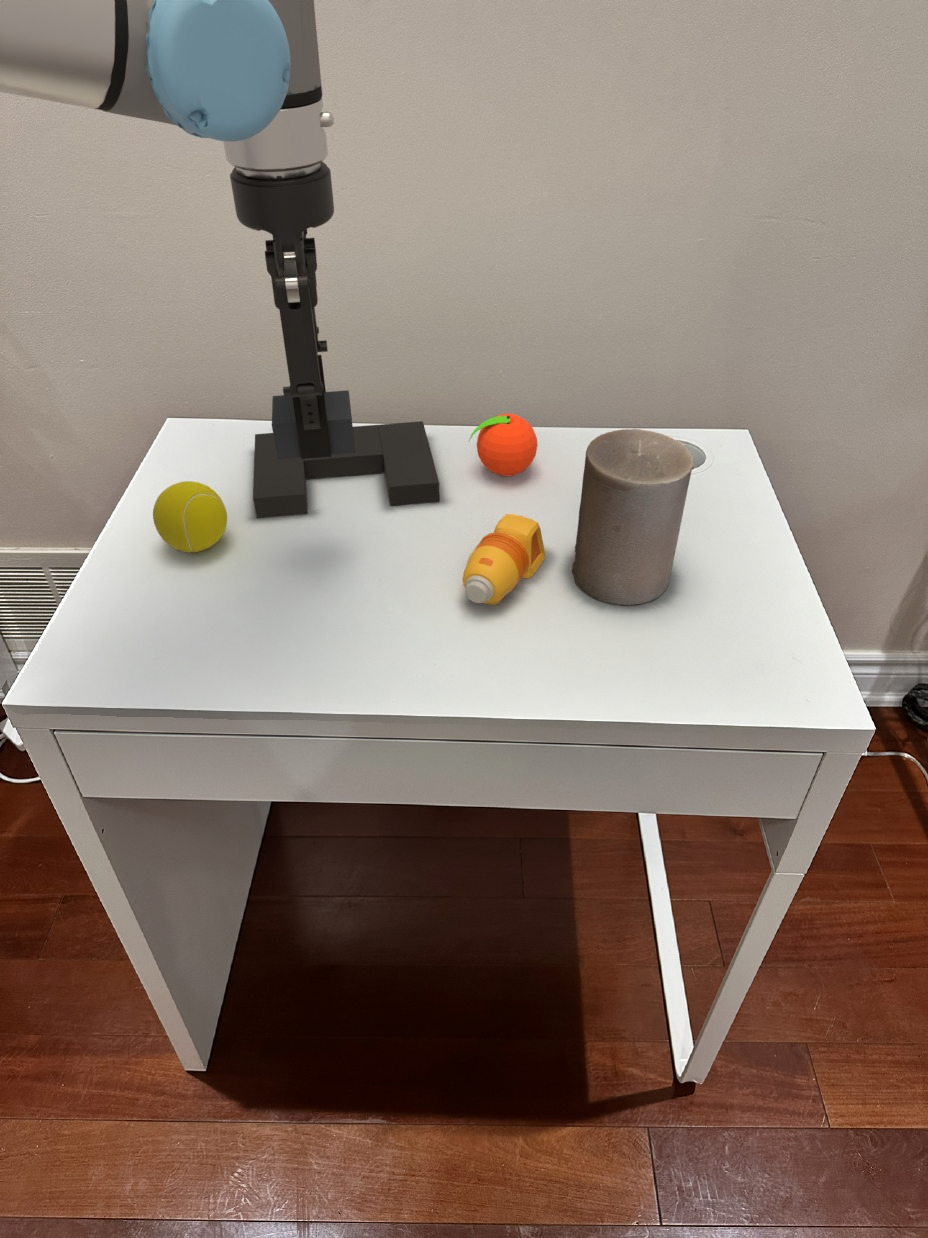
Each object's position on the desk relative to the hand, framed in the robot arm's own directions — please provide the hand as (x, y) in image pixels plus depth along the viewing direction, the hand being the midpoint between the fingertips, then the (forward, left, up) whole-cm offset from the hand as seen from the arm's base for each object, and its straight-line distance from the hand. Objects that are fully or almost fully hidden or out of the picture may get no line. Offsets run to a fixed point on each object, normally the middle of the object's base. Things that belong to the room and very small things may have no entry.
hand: (315, 437), depth 81 cm
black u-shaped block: (+2, +15, -13) cm, 20 cm away
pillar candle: (+28, -8, -14) cm, 33 cm away
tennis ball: (-14, +4, -14) cm, 20 cm away
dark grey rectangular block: (0, 0, 0) cm, 0 cm away
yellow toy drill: (+16, -7, -14) cm, 23 cm away
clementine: (+20, +13, -14) cm, 28 cm away
